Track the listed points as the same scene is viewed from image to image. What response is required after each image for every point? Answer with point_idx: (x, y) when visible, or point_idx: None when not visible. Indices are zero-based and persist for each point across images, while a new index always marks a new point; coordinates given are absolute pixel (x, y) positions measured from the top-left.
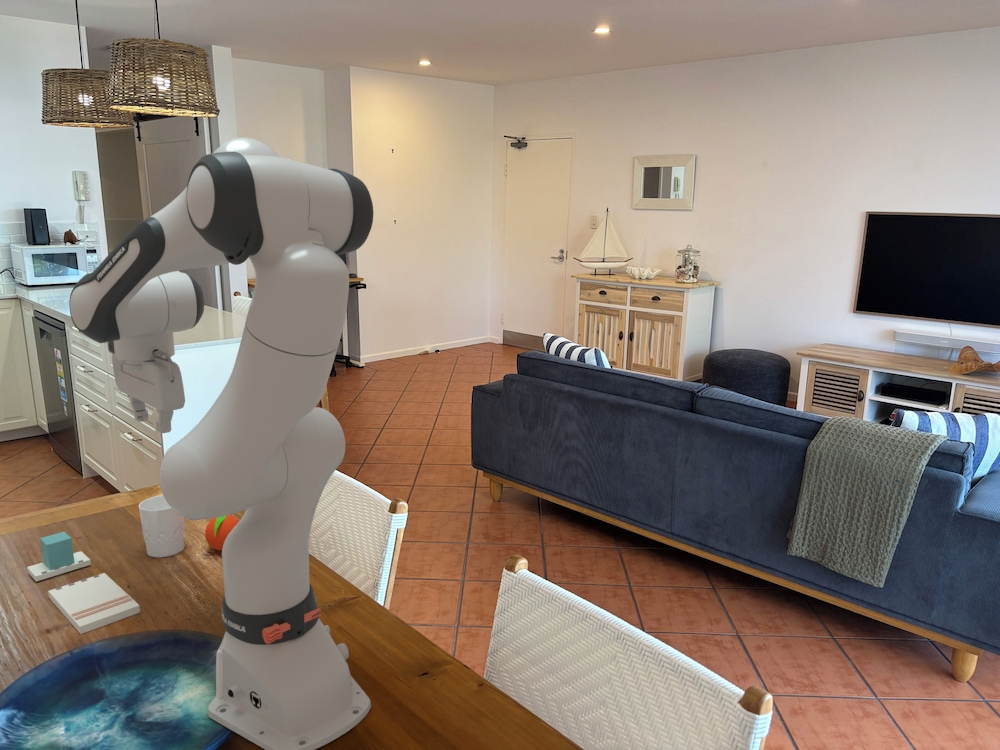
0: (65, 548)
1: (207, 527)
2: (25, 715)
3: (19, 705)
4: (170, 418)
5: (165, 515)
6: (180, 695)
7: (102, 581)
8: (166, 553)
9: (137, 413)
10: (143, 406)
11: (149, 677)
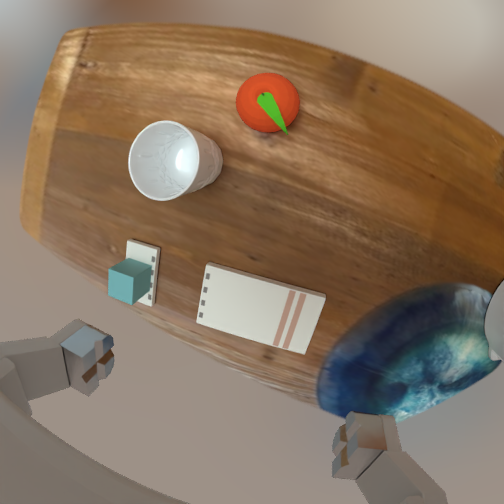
0: (139, 281)
1: (253, 122)
2: None
3: None
4: (414, 470)
5: (200, 176)
6: (460, 355)
7: (227, 281)
8: (217, 175)
9: (91, 392)
10: (46, 357)
11: (424, 356)
